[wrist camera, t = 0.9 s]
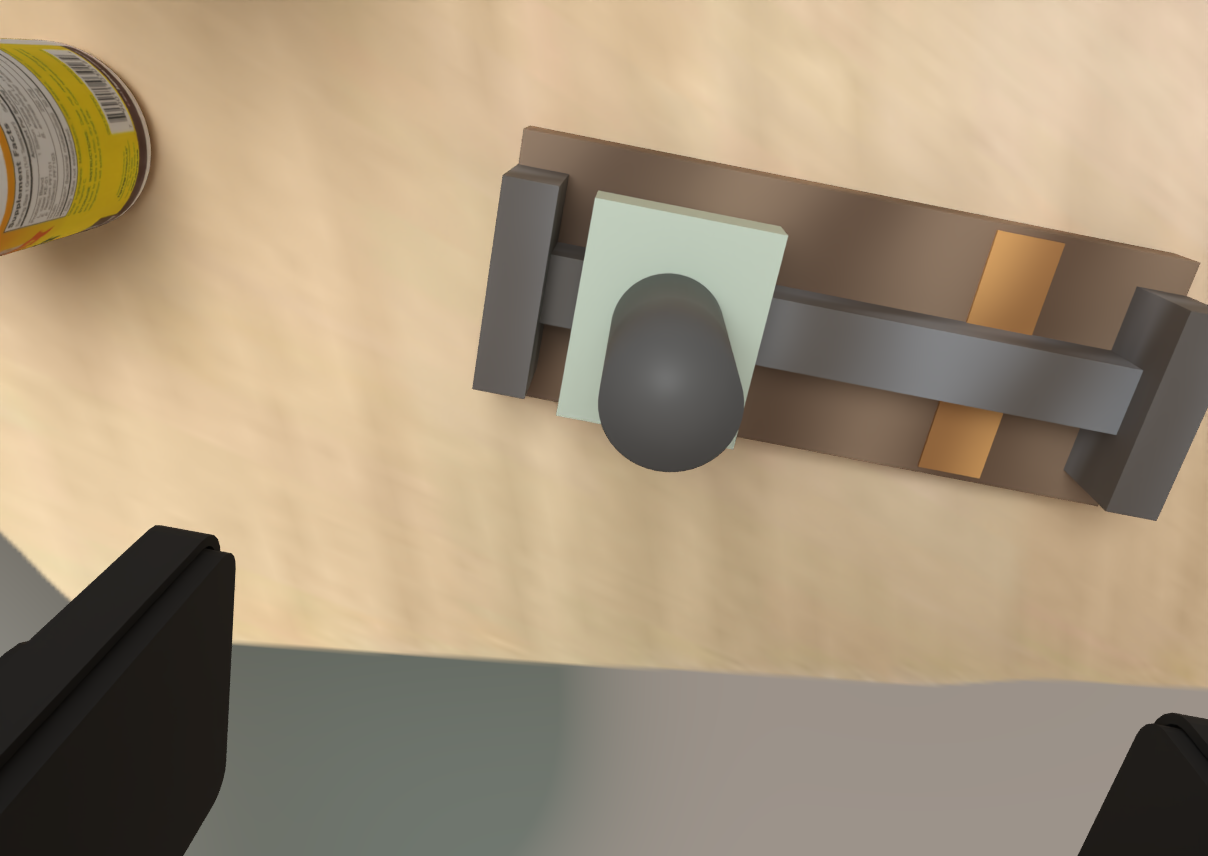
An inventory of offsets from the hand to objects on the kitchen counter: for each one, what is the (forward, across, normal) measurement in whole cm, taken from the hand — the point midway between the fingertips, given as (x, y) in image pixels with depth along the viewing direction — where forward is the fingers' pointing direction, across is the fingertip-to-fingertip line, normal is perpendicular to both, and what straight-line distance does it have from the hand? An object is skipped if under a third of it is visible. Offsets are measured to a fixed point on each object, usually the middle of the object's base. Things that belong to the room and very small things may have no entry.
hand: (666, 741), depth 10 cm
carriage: (+20, 0, 0) cm, 20 cm away
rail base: (+22, -5, 0) cm, 22 cm away
